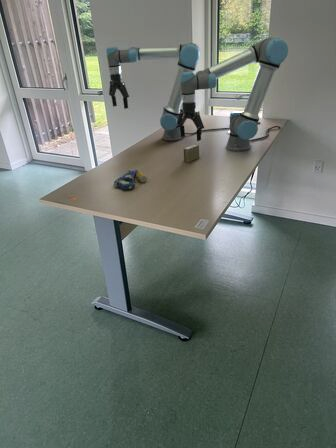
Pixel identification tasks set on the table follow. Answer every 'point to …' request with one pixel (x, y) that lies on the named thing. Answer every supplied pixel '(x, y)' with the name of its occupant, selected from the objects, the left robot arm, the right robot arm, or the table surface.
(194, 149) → the ink box
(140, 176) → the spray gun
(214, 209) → the table surface
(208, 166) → the table surface
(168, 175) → the table surface
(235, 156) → the table surface
